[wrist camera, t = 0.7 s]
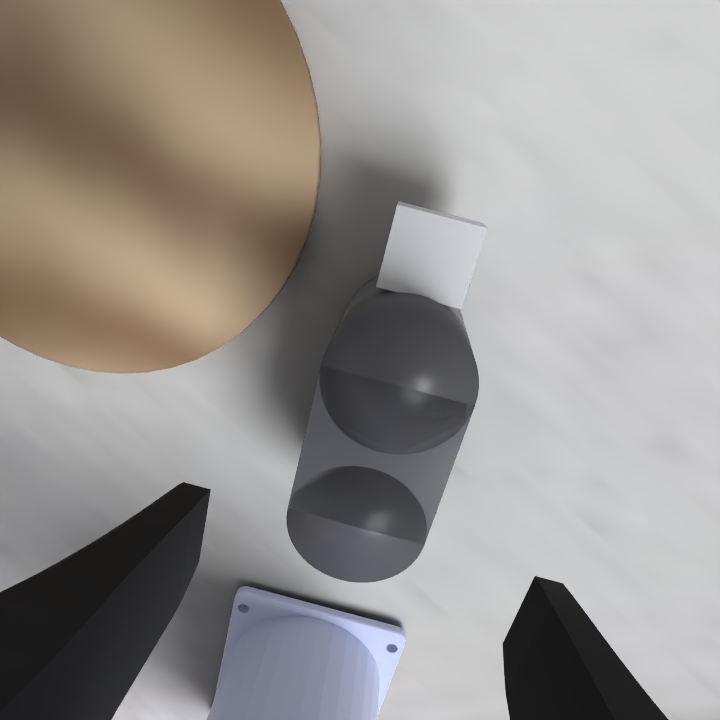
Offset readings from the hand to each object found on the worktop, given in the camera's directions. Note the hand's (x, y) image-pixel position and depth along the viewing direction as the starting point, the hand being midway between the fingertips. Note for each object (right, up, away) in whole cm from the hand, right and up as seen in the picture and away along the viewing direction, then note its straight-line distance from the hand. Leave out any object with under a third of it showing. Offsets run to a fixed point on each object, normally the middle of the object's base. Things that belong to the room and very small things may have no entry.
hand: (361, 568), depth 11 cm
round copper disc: (-9, +12, +7) cm, 16 cm away
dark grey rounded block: (+1, +4, +8) cm, 9 cm away
